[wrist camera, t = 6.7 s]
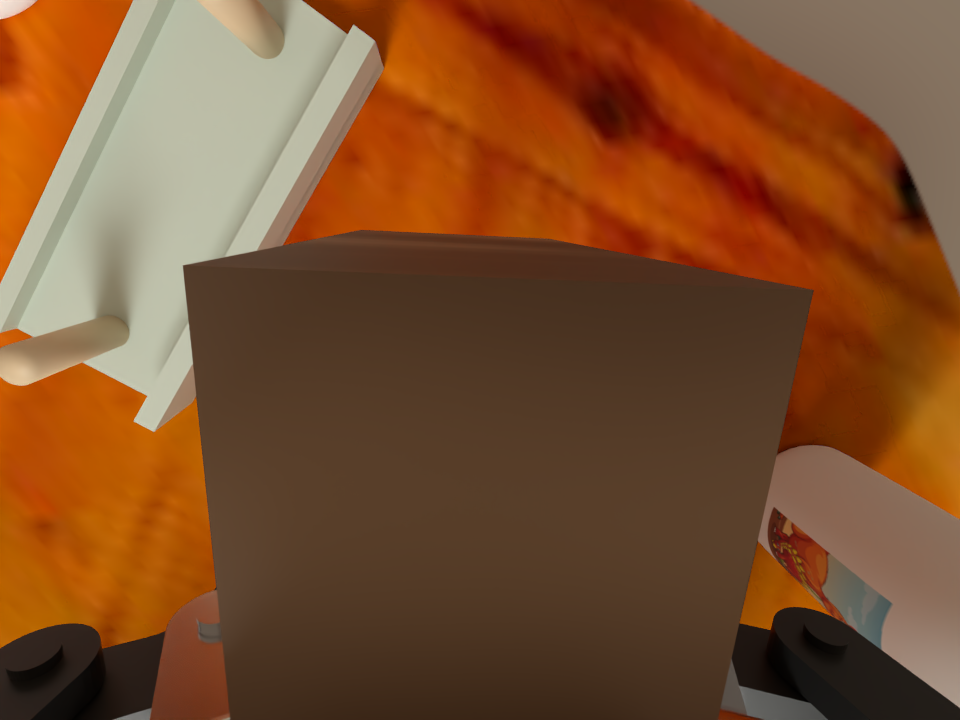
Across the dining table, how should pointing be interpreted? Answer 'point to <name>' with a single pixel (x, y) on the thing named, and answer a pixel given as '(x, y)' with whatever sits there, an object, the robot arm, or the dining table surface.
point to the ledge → (177, 183)
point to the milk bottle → (870, 557)
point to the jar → (13, 7)
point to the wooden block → (483, 474)
